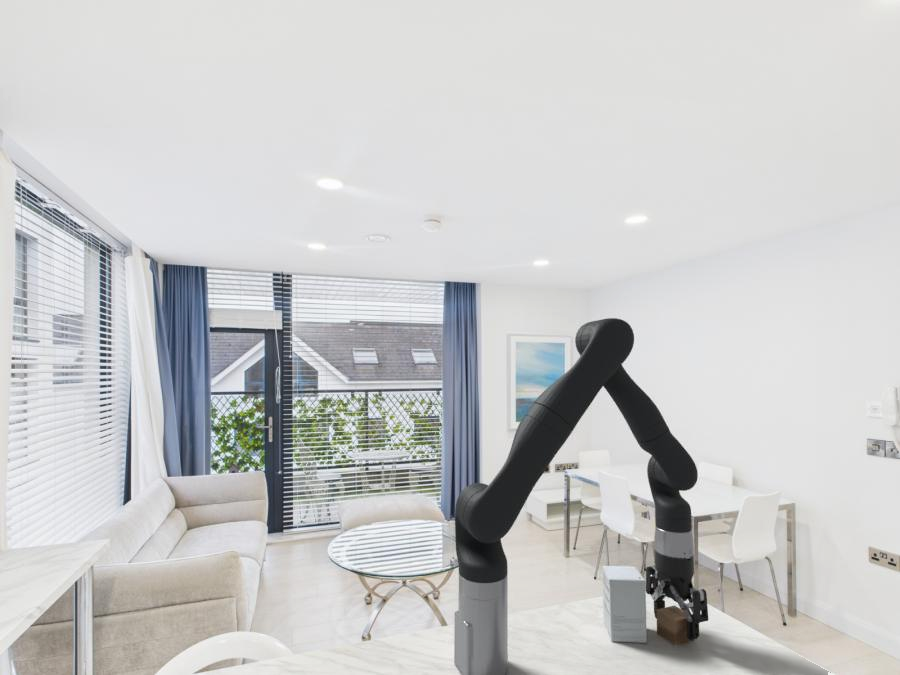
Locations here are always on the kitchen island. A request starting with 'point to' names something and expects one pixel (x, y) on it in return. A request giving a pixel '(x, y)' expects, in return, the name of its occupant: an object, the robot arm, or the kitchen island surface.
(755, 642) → the kitchen island surface
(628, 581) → the supplement box
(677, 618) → the walnut cube
